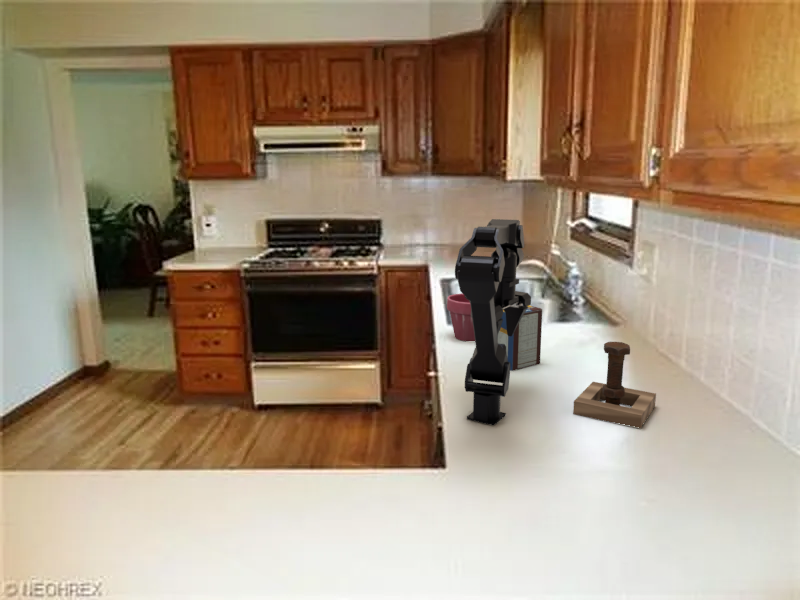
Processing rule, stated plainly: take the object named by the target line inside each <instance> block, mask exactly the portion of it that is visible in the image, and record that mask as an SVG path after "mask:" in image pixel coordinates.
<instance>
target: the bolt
mask: <svg viewBox="0 0 800 600" xmlns="http://www.w3.org/2000/svg"><path fill="white" fill-rule="evenodd" d="M603 350H604V354H607V370H606V371H607V372H606V383H604V384H605V385H603V395H605V398H606V399H605V401H604V402H605V403H610V404H614V405H619V406H621V404H620V401H621V400H620V399H621V398H622V397H624V395H625V389H624V388H625V386H623V374H624V372H623V371H624V363H625V362H624V361H625V357H626V355H630V354H631V347H630V344H628V343H625V342H622V341H608V342H605V343H604V344H603Z"/></svg>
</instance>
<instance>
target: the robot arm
mask: <svg viewBox="0 0 800 600" xmlns="http://www.w3.org/2000/svg"><path fill="white" fill-rule="evenodd" d="M478 248H485V249H487V248H488V249H489V248H491V249H495V250H494V251H493V252H492V253H491V254H490V256H486V255H485V256H484V255H483V256H482V255H473V254H474V253H475V252H476V251H477V249H478ZM524 248H525V236H524V225H523V224H521V221H520V220H519V219H500V218H499V219H497V218H495V219H493V218H492V219H491V220H490V221H489V222H488V223H487V225H486V226H477V227H474V228H473V232H472V235H471V237H470V238H469V239H468V240H467V241H466V242H465V243H464V244H463V245H462V246H461V247H460V249H459V251H458V254H457V258H456V259H457V260H456V262H455V268H454V277H455V280H457V283H458V287H459V292H460V293H463V294H464V297H465V298H466V299H467V300H469V302H470V305H471V317H472V320H473V328H474V336H475V342H474V343H475V347H474V350H473V354H472V356H471V358H470V360H469V363H467V366H466V370H465V371H466V372H465V377H464V390H465V391H464V392H465V393H466V392H467V393H470V392H471V393H473V401H472V403H473V405H472V406H473V408H472V412H471V413H469V414H467V416H466V420H469V421H473V422H477V423H481V424H485V425H487V426H488V425H489V426H496V425H497V423H499V422H500V421H501V420H502V419H505V417H506V415H507V413H506V412H503V411H501V397H505V396H506V394H508V391H509V389H510V388H509V387H510V376H511V370H510V362H508V359H507V350H506V346H505V344H498V338H497V336H498V333H499V330H500V327H501V324H502V321H503V319H501V318H502V316H503V310H504V312H505V313H506V327H507V335H508V336H512V335H513V333H514V332H515V330H516V328H517V326H518V324H519V322H520V320H521V318H522V317H523V315H524V313H525V311H526V310H527V309H528V307H527V306H529V305H530V306H532V296H531V294H529V292H525V291H518V290H516V286H517V285H518V284H520V279H519V278H517V268H518V267H519V266H520V265H521V263H522V262H523V261H524V255H525V254H524V251H523V249H524ZM476 381H482V382H476ZM485 382H488V383H485ZM489 382H490V383H489ZM493 383H498V384H493ZM500 384H502V385H500Z"/></svg>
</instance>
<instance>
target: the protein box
mask: <svg viewBox="0 0 800 600" xmlns="http://www.w3.org/2000/svg"><path fill="white" fill-rule="evenodd" d="M527 307H528V309H527V310H526V311H525V313H524V315H523V317H522V318H521V320H520V322H519V324H518V326H517V328H516V330H515V332H514V333H513V335H512V336H508V335H507V327H506V313H505V312H504V310H503V316H502V318H501V319H503V321H502V324H501V327H500V330H499V333H498V336H497V338H498V344H505V346H506V350H507V359H508V362H510V372H514V371H518V370H521V369H525V368H528V367H533V366H536V365H540V364H541V347H542V326H543V325H542V323H543V308H541V307H536V306H532V305H529V306H527Z"/></svg>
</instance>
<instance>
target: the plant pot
mask: <svg viewBox="0 0 800 600" xmlns="http://www.w3.org/2000/svg"><path fill="white" fill-rule="evenodd" d="M446 298H447V299H446V309H447V311H448V312H449V314H450V318H451V324H452V329H453V335H454V338H455V339H456V340H458V341H462V342H466V341H475V336H474V328H473V320H472V317H471V305H470V302H469V300H467V299H466V298H465V297H464V294H463V293H462V292H460V293H455V294H450V295H448V296H447V297H446Z"/></svg>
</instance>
